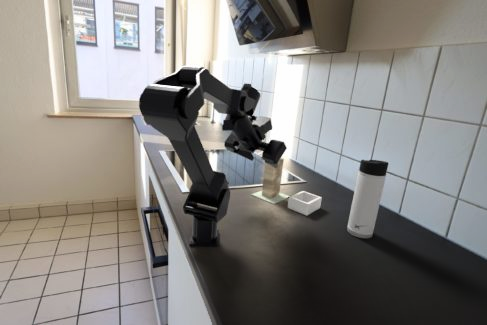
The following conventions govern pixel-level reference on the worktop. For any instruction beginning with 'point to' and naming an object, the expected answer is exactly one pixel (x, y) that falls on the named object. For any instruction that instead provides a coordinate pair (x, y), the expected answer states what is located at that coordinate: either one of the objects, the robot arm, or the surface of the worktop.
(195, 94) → the robot arm
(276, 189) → the tall tan tower
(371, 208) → the travel mug
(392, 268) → the worktop surface
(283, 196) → the mat
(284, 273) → the worktop surface
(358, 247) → the worktop surface
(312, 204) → the holder box
